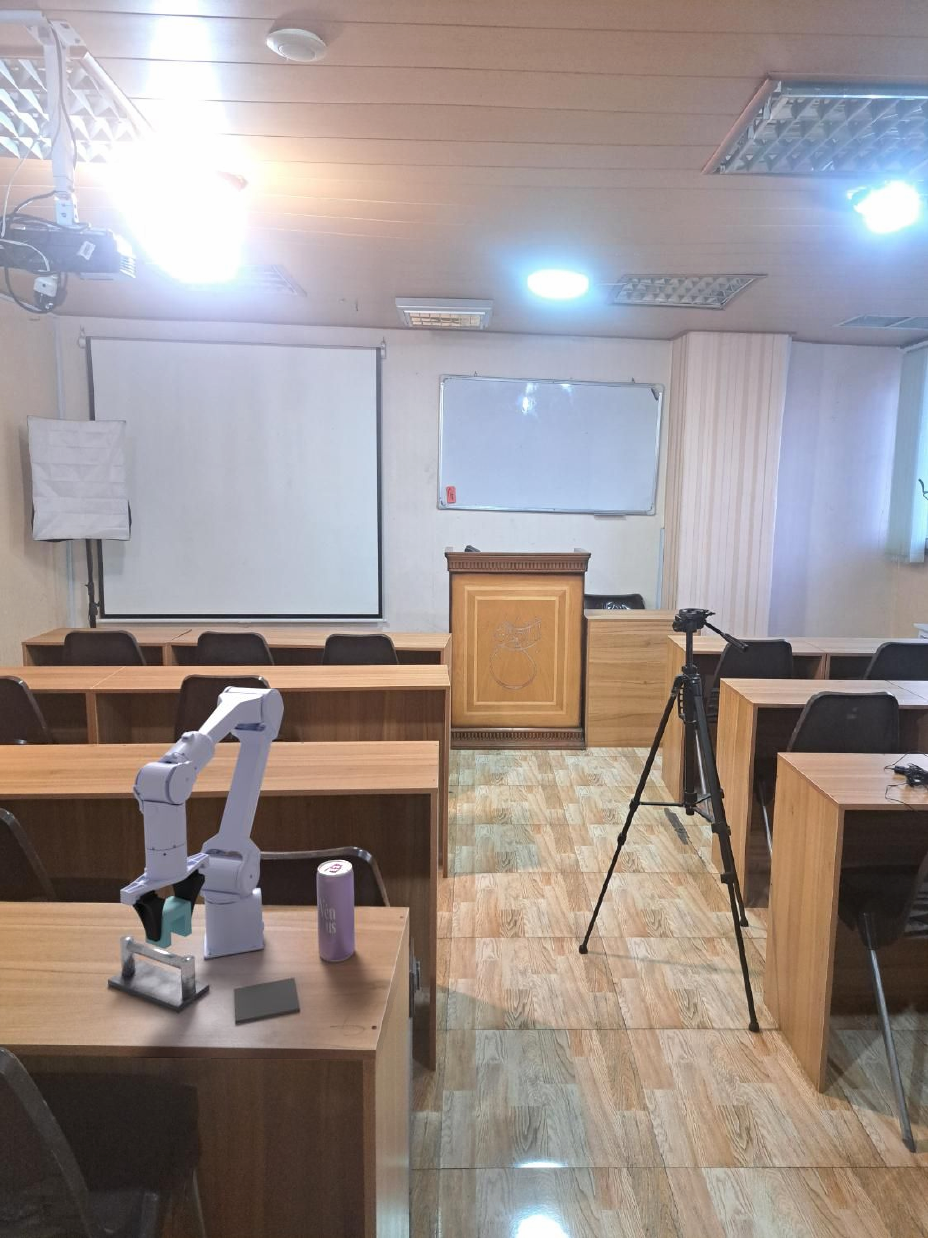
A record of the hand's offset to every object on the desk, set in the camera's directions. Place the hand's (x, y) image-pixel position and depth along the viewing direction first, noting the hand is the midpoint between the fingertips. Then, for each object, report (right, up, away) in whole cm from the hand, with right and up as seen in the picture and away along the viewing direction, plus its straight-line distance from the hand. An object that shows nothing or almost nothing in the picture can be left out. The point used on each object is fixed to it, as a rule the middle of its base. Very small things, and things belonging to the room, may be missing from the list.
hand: (169, 930), depth 110 cm
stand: (-3, -10, +3) cm, 11 cm away
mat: (+15, -11, 0) cm, 18 cm away
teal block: (0, -1, 0) cm, 1 cm away
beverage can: (+23, -9, +13) cm, 28 cm away
